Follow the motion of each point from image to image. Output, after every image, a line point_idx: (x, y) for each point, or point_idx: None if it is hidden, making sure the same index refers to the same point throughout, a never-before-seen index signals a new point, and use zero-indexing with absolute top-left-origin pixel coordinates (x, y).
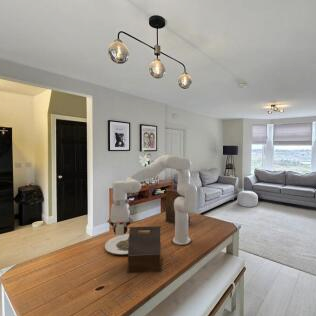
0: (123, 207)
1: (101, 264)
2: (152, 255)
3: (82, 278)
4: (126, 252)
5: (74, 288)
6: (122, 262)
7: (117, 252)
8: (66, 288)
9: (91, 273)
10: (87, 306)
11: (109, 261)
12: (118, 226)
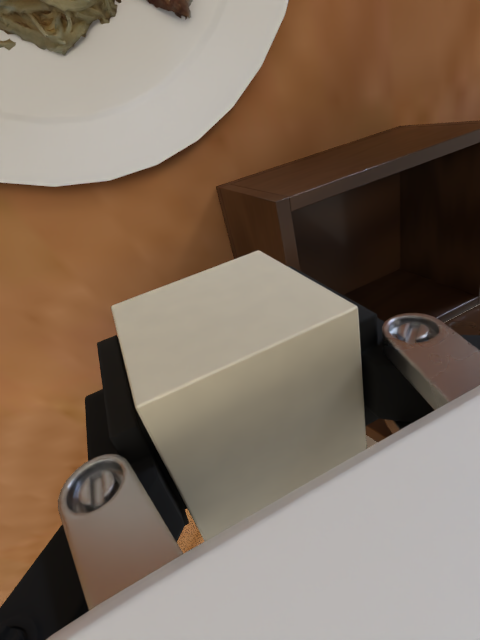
0: None
1: (8, 330)
2: (443, 319)
3: (20, 478)
4: (120, 114)
5: (57, 530)
6: (163, 257)
7: (22, 140)
8: (12, 551)
9: (33, 429)
10: (201, 537)
11: (43, 274)
12: (242, 476)
